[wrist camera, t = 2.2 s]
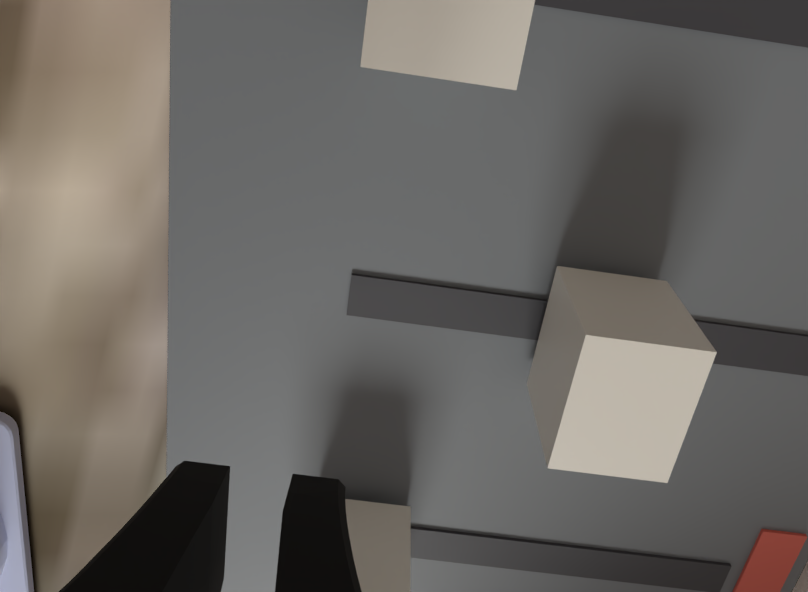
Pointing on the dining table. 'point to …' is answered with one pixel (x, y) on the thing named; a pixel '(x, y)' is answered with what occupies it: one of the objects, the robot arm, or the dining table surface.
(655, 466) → the handle mid
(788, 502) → the breaker panel
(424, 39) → the handle
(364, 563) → the handle
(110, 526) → the dining table surface
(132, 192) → the dining table surface
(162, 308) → the dining table surface
